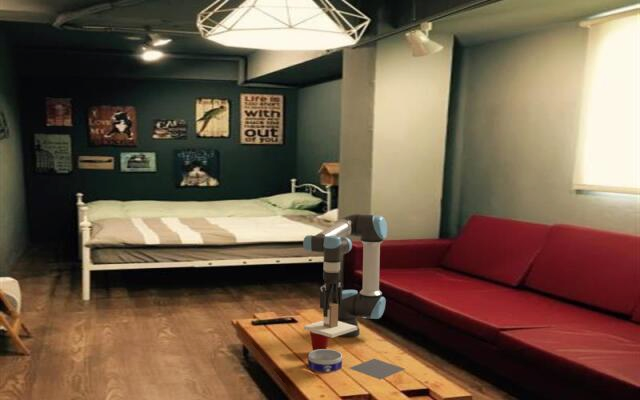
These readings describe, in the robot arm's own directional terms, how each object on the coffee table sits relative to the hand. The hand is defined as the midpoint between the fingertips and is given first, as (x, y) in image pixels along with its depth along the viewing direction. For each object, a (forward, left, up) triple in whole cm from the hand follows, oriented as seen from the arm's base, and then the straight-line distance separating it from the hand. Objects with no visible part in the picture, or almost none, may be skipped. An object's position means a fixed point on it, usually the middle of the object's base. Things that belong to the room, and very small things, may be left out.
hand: (330, 322), depth 258 cm
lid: (0, 0, -3) cm, 3 cm away
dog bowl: (+1, -2, -21) cm, 21 cm away
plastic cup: (-10, -16, -21) cm, 28 cm away
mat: (-14, +16, -21) cm, 30 cm away
